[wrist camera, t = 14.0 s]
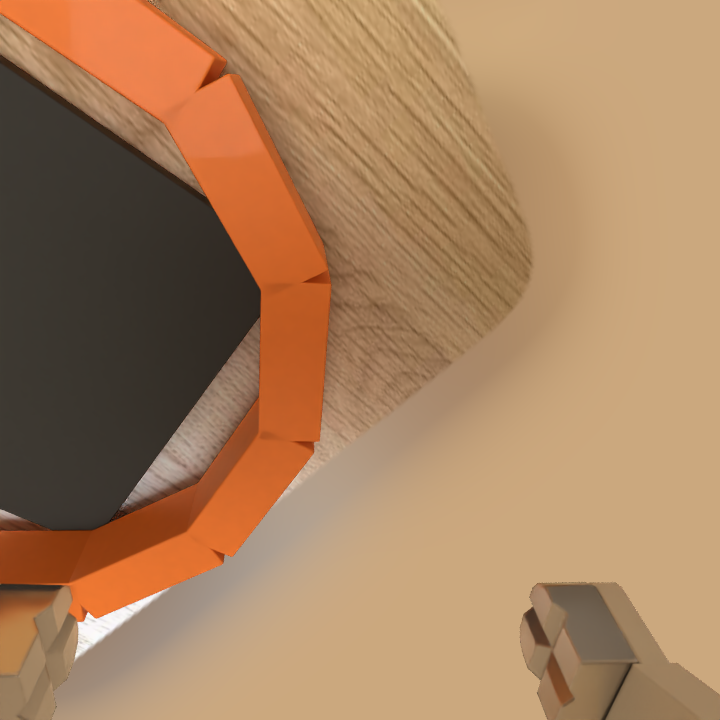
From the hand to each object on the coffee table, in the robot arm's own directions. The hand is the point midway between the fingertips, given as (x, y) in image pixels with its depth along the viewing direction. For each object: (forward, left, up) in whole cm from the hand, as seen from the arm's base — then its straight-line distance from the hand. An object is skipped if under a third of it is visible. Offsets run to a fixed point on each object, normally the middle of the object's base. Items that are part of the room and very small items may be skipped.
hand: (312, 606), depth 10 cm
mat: (+6, -10, -14) cm, 18 cm away
